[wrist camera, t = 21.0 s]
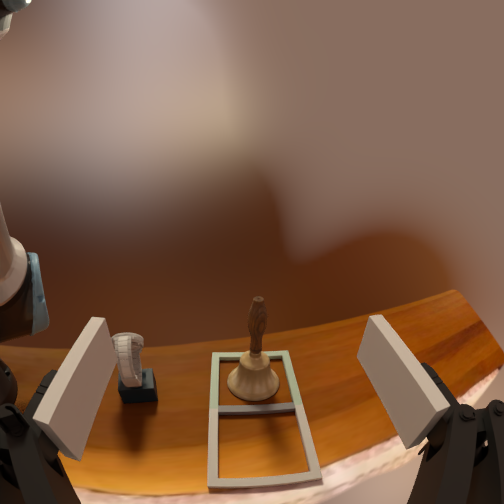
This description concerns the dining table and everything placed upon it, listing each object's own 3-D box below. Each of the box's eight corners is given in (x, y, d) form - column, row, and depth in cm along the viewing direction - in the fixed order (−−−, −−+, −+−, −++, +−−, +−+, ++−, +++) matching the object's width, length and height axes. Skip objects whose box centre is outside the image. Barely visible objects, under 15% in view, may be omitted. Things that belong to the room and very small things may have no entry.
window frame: (208, 487, 22) (207, 486, 22) (212, 355, 46) (212, 352, 46) (321, 479, 23) (322, 477, 23) (287, 353, 47) (287, 350, 47)
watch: (154, 373, 41) (142, 320, 37) (159, 409, 33) (142, 356, 30) (123, 376, 39) (106, 323, 35) (123, 412, 32) (100, 359, 28)
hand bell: (285, 373, 43) (296, 290, 37) (268, 407, 35) (277, 322, 30) (240, 360, 46) (241, 278, 40) (218, 391, 38) (212, 305, 33)
